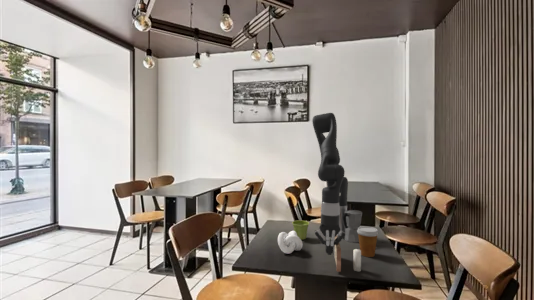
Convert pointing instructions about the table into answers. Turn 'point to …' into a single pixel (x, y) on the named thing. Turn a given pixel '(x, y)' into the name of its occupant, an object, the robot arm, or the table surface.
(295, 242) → the white decorative knot
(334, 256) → the translucent grey rod
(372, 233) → the disposable coffee cup
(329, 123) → the robot arm
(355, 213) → the coffeepot
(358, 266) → the post
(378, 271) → the table surface
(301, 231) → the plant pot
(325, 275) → the table surface
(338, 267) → the brown flat block
